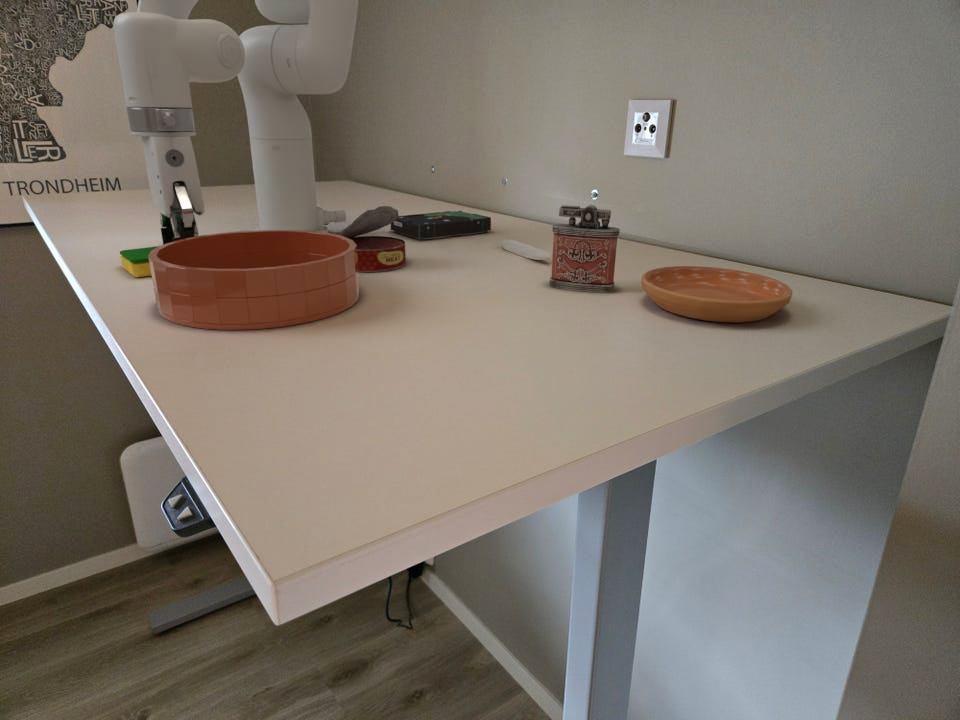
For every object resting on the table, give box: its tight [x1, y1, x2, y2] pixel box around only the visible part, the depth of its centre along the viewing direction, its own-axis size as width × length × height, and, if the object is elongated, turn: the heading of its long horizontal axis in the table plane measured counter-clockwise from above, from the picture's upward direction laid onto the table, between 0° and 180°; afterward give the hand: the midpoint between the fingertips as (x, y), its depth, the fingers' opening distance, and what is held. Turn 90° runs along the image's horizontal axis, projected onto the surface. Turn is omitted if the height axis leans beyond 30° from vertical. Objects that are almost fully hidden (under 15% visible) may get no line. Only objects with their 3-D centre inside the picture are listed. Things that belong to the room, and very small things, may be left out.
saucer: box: [640, 265, 793, 323], centre depth 73 cm, size 16×16×3 cm
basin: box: [148, 230, 360, 331], centre depth 73 cm, size 22×22×6 cm
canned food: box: [337, 205, 407, 273], centre depth 90 cm, size 11×10×10 cm
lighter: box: [549, 204, 621, 293], centre depth 79 cm, size 8×3×10 cm, turn 71°
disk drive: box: [390, 210, 492, 240], centre depth 114 cm, size 10×3×15 cm
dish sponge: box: [119, 245, 160, 278], centre depth 88 cm, size 7×14×2 cm, turn 129°
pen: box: [500, 238, 552, 261], centre depth 97 cm, size 2×14×2 cm, turn 26°
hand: (183, 260), depth 89 cm, fingers closed on dish sponge, 7 cm apart
